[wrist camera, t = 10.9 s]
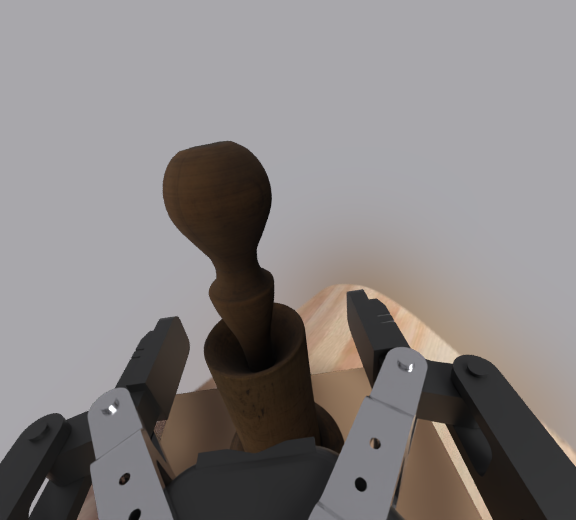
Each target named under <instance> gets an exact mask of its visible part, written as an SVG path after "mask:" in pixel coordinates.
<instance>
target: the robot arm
mask: <svg viewBox="0 0 576 520" xmlns="http://www.w3.org/2000/svg"><path fill="white" fill-rule="evenodd" d="M347 319H348V325H349V328H350V331H351V334H352V337H353V340H354V342H355V345H356V348H357V350H358V353H359V356H360V359H361V361H362V364H363V367H364V369H365V372H366V375H367V378H368V380H369V383H370V386H371V388H372V391H371V393H370V395H369V396H366V397H365V398H364V400H363V402H362V404H361V406H360V409H359V411H358V413H357V416H356V418H355V420H354V422H353V425H352V427H351V429H350V432H349V434H348V436H347V439H346V441H345V443H344V446H343V448H342V450H341V453H340V454H338V453H337V452H335V451H333V450H331V449H328V448H325V447H321V446H316V445H315V438H314V437H307V438H300V439H293V440H286V441H283V442H281V443H279V444H277V445H274V446H272V447H270V448H267V449H265V450H263V451H261V452H258V453H250V452H243V451H237V450H231V449H222V450H215V451H208V452H201V453H198V458H197V463H196V464H195V465H193V466H191V467H189V468H188V469H186V470H185V471H183V472H182V473H180V474H179V475H178V476H177V477H176V476H175V474H174V472H173V470H172V468H171V466H170V464H169V461H168V459H167V457H166V454H165V452H164V450H163V447H162V445H161V443H160V440H159V438H158V436H157V433H156V431H155V430H154V428H155V425H156V422H157V421H161V420H168V417H169V414H170V411H171V408H172V405H173V401H174V398H175V395H176V392H177V389H178V386H179V382H180V379H181V376H182V373H183V370H184V367H185V364H186V360H187V358H188V354H189V350H190V344H189V339H188V337H187V335H186V332H185V330H184V328H183V326H182V323H181V321H180V319H179V317H177V316H175V317H168V318H162V319H160V320H159V321H158V323H157V325H156V327H155V329H154V331H150V332H148V334H146V336H144V338H142V339H141V341H140V343H139V345H138V347H137V348H136V351H135V352H134V354H133V356H132V359H131V360H130V361H129V363H128V365H127V367H126V369H125V370H124V372H123V374H122V376H121V378H120V380H119V382H118V383H117V385H116V387H115V389H112V390H110V391H108V392H106V393H105V394H103V395H102V396H100V397H99V398H98V399H97V400H96V401H95V402H94V403H93V405H92V406H91V408H90V410H89V411H87V412H84V413H82V414H79V415H77V416H75V417H72V418H70V419H67V420H65V418H64V417H63V416H62V415H61V414H58V413H53V414H49V415H46V416H44V417H42V418H40V419H38V420H37V421H35V422H34V423H32V424H31V425H30V426H29V427H28V428H27V429H25V431H23V433H22V434H21V435H20V436H19V438H18V439H17V440H16V442H15V443H14V445H13V446H12V448H11V449H10V451H9V452H8V453H7V455H6V456H5V458H4V459H3V460H2V462H1V463H0V520H77V517H78V515H79V513H80V510H81V508H82V505H83V503H84V501H85V498H86V496H87V494H88V491H89V489H90V486H91V484H93V489H94V495H95V501H96V506H97V512H98V518H99V520H405V519H404V518H403V517H402V516H401V515H400V514H399V513H398V512H397V511H396V507H397V503H398V499H399V495H400V491H401V487H402V483H403V479H404V474H405V470H406V465H407V461H408V457H409V453H410V449H411V445H412V441H413V437H414V433H415V429H416V425H417V421H418V419H423V420H428V421H434V422H439V423H444V424H446V426H447V428H448V430H449V432H450V434H451V436H452V438H453V440H454V442H455V444H456V446H457V448H458V450H459V452H460V454H461V456H462V458H463V460H464V462H465V464H466V466H467V468H468V470H469V472H470V474H471V476H472V478H473V480H474V482H475V484H476V486H477V489H478V491H479V493H480V495H481V497H482V499H483V501H484V503H485V505H486V507H487V509H488V511H489V513H490V515H491V517H492V519H493V520H576V467H575V465H574V464H573V463H572V462H571V460H570V459H569V458H568V457H567V455H566V454H565V453H564V452H563V450H562V449H561V448H560V447H559V445H558V444H557V443H556V442H555V440H554V439H553V438H552V436H551V435H550V434H549V433H548V431H547V430H546V429H545V428H544V426H543V425H542V424H541V423H540V421H539V420H538V419H537V418H536V416H535V415H534V414H533V413H532V411H531V410H530V409H529V408H528V406H527V405H526V404H525V403H524V401H523V400H522V399H521V398H520V396H519V395H518V394H517V392H516V391H515V390H514V389H513V387H512V386H511V385H510V384H509V382H508V381H507V380H506V379H505V377H503V375H502V374H501V372H500V371H499V370H498V369H497V368H496V367H495V366H494V365H493V364H492V363H491V362H489V361H487V360H486V359H483V358H481V357H478V356H474V355H462V356H459V357H457V358H456V359H455V360H454V362H453V364H450V363H442V362H435V361H430V360H427V359H425V358H424V357H423V356H422V355H421V354H420V353H419V352H417V351H415V350H413V349H411V348H410V346H409V345H408V343H407V341H406V340H405V338H404V336H403V335H402V333H401V331H400V329H399V328H398V326H397V324H396V323H395V322H394V319H393V318H392V316H391V315H390V313H389V311H388V309H387V307H386V306H385V305H384V304H383V303H382V302H380V301H379V300H378V299H370V300H369V299H368V297H367V295H366V293H365V292H364V290H363V289H362V290H355V291H348V292H347ZM45 478H48V479H49V481H48V483H47V485H46V487H45V489H44V491H43V492H42V494H41V496H40V498H39V500H38V502H37V504H36V505H35V507H34V509H33V511H32V513H31V515H30V517H29V509H30V506H31V503H32V502H33V500H34V498H35V496H36V494H37V492H38V491H39V489H40V487H41V485H42V484H43V482H44V480H45Z"/></svg>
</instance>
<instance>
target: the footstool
mask: <svg viewBox="0 0 576 520" xmlns="http://www.w3.org/2000/svg"><path fill="white" fill-rule="evenodd" d="M311 381H312V389H313V396H314V402H315V403H317V404H319V405H320V406H321V407H323V408H324V409H325V410H326V411H327V412H328V413H329V414H330V415H331V416H332V417H333V419H334V420H335V422H336V423H337V425H338V427H339V429H340V431H341V433H342V436H343V439H344V443H345V441H346V439H347V436H348V434H349V432H350V429H351V427H352V425H353V422H354V420H355V418H356V416H357V413H358V411H359V409H360V406H361V404H362V402H363V400H364V398H365V397H366V396H369V395H370V393H371V391H372V388H371V386H370V383H369V380H368V378H367V375H366V372H365V369H364V367H363V368H356V369H349V370H342V371H335V372H328V373H321V374H314V375H311ZM235 432H236V429H235V426H234V424H233V422H232V419H231V417H230V415H229V413H228V410H227V408H226V406H225V403H224V401H223V399H222V397H221V394H220V392H219V390H218V388H217V389H210V390H204V391H197V392H190V393H183V394H176V395H175V398H174V401H173V405H172V408H171V411H170V414H169V417H168V420H167V421H166V424H165V427H164V430H163V433H162V436H161V439H160V443H161V445H162V447H163V450H164V452H165V454H166V457H167V459H168V461H169V464H170V466H171V468H172V470H173V472H174V474H175V476H176V477H177V476H178V475H179V474H180V473H182V472H183V471H185V470H186V469H188V468H189V467H191V466H193V465H195V464H196V463H197V458H198V453H201V452H208V451H215V450H222V449H230V445H231V442H232V439H233V436H234V434H235ZM396 511H397V512H398V513H399V514H400V515H401V516H402V517H403V518H404V519H405V520H482V518H481V516H480V514H479V512H478V510H477V508H476V506H475V504H474V502H473V500H472V498H471V497H470V495H469V493H468V491H467V489H466V487H465V485H464V483H463V481H462V479H461V477H460V475H459V473H458V472H457V470H456V468H455V466H454V464H453V462H452V460H451V458H450V456H449V454H448V452H447V450H446V448H445V447H444V445H443V443H442V441H441V439H440V437H439V435H438V433H437V431H436V429H435V427H434V425H433V423H432V422H431V421H428V420H423V419H418V421H417V425H416V429H415V433H414V437H413V441H412V445H411V449H410V453H409V457H408V461H407V465H406V470H405V474H404V479H403V483H402V487H401V491H400V495H399V499H398V503H397V507H396Z"/></svg>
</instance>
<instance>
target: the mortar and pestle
mask: <svg viewBox="0 0 576 520" xmlns="http://www.w3.org/2000/svg"><path fill="white" fill-rule="evenodd" d="M163 198H164V203H165V207H166V210H167V212H168V215H169V217H170V219H171V220H172V222H173V223H174V225H175V226H176V227H177V228H178V229H179V231H180V232H181V233H182V234H183V235H185V236H186V237H187V238H188V239H189V240H190V241H191V242H192V243H193V244H194V245H195V246H196V247H198V248H199V249H200V250H201V251H202V252H203V253H204V254H205V255H207V256H208V257H209V258H210V259H211V261H212V263H213V264H214V266H215V269H216V280H215V281H214V282H213V283H212V284H211V286H210V289H209V297H210V299H211V301H212V303H213V305H214V307H215V309H216V310H217V312H218V313H219V315H220V316H221V318H222V319H221V320H220V321H219V322H218V323H217V324H216V325H215V326H214V328H213V329H212V330H211V332H210V333H209V335H208V337H207V339H206V341H205V345H204V356H205V360H206V363H207V365H208V368H209V370H210V372H211V374H212V377H213V379H214V381H215V383H216V385H217V388H218V390H219V392H220V394H221V397H222V399H223V401H224V403H225V406H226V408H227V410H228V413H229V415H230V417H231V419H232V422H233V424H234V426H235V429H236V432H235V434H234V436H233V439H232V442H231V445H230V449H231V450H237V451H243V452H250V453H258V452H261V451H263V450H265V449H267V448H270V447H272V446H274V445H277V444H279V443H281V442H283V441H286V440H293V439H300V438H307V437H314V438H315V445H316V446H321V447H325V448H328V449H331V450H333V451H335V452H337V453H338V454H340V453H341V450H342V448H343V446H344V439H343V436H342V433H341V431H340V429H339V427H338V425H337V423H336V422H335V420H334V419H333V417H332V416H331V415H330V414H329V413H328V412H327V411H326V410H325V409H324V408H323V407H321V406H320V405H319V404H317V403H315V402H314V396H313V389H312V381H311V374H310V367H309V359H308V350H307V342H306V334H305V327H304V323H303V321H302V319H301V317H300V316H299V314H298V313H297V312H296V311H295V310H293V309H292V308H290V307H288V306H286V305H283V304H280V303H274V279H273V276H272V274H271V273H270V272H269V271H267V270H265V269H263V268H261V267H260V265H259V263H258V260H257V246H258V243H259V241H260V238H261V236H262V233H263V231H264V228H265V225H266V222H267V219H268V216H269V213H270V208H271V201H272V194H271V186H270V182H269V179H268V176H267V174H266V171H265V169H264V168H263V166H262V165H261V163H260V162H259V160H258V159H257V158H256V156H254V155H253V153H252V152H250V151H249V150H248V149H247V148H245V147H243V146H241V145H239V144H237V143H235V142H232V141H223V142H216V143H212V144H206V145H201V146H195V147H192V148H189V149H186V150H183V151H179V152H178V153H177V154H176V155H175V156H174V157H173V158H172V159H171V161H170V162H169V164H168V166H167V168H166V171H165V174H164V180H163Z"/></svg>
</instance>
